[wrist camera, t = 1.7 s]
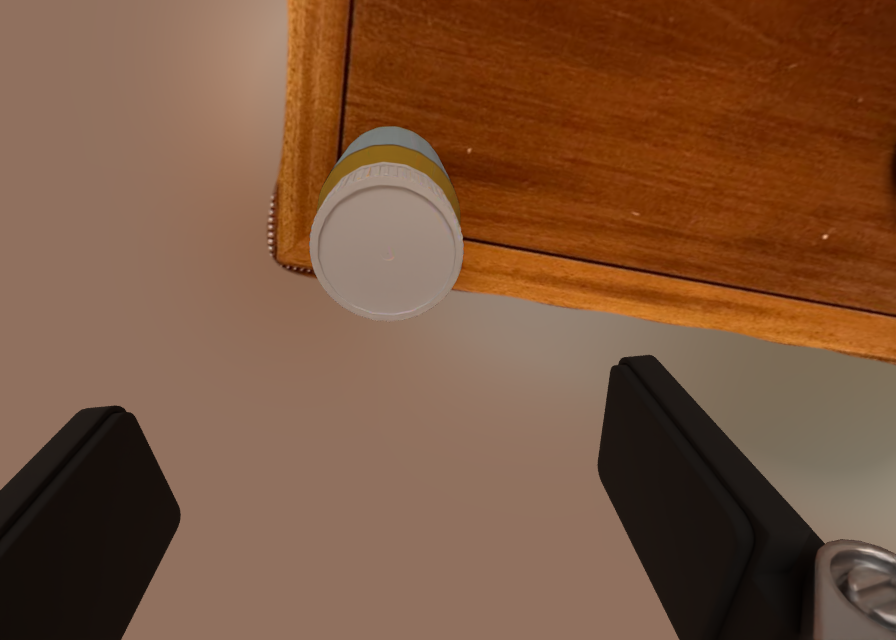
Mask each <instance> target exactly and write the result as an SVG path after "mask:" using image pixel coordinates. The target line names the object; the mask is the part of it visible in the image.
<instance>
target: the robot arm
mask: <svg viewBox="0 0 896 640" xmlns="http://www.w3.org/2000/svg"><path fill="white" fill-rule="evenodd" d="M598 472H599V476H600V479H601V482H602V484H603V486H604V488H605V490H606V492H607V494H608V496H609V498H610V500H611V502H612V504H613V506H614V508H615V510H616V512H617V514H618V516H619V518H620V520H621V522H622V524H623V526H624V528H625V530H626V532H627V534H628V536H629V539H630V541H631V543H632V545H633V547H634V549H635V551H636V553H637V555H638V557H639V559H640V561H641V563H642V565H643V567H644V569H645V571H646V573H647V575H648V577H649V579H650V581H651V583H652V585H653V587H654V589H655V591H656V593H657V595H658V597H659V599H660V601H661V603H662V605H663V607H664V609H665V611H666V613H667V615H668V618H669V620H670V621H671V624H672V625H673V628H674V629H675V632H676V634H677V636H678V638H679V639H680V640H896V554H894V553H893V552H891V551H888V550H886V549H884V548H882V547H879V546H876V545H872V544H869V543H865V542H862V541H855V540H843V539H840V540H836V541H831V542H827V543H826V544H825V543H824V542H823V541H822V540H821V539H820V538H819V537H818V536H817V534H816V533H815V532H814V531H813V530H812V529H811V528H810V527H809V525H808V524H807V523H806V522H805V521H804V520H803V519H802V518H801V517H800V515H799V514H798V513H797V512H796V511H795V510H794V509H793V508H792V507H791V506H790V504H789V503H788V502H787V501H786V500H785V499H784V498H783V497H782V496H781V495H780V494H779V492H778V491H777V490H776V489H775V488H774V487H773V486H772V485H771V484H770V483H769V482H768V480H767V479H766V478H765V477H764V476H763V475H762V474H761V473H760V472H759V471H758V469H756V467H755V466H754V465H753V464H752V463H751V462H750V461H749V460H748V458H747V457H746V456H745V455H744V454H743V453H742V452H741V451H740V450H739V449H738V447H736V445H735V444H734V443H733V442H732V441H731V440H730V439H729V438H728V437H727V435H726V434H725V433H724V432H723V431H722V430H721V429H720V428H719V427H718V426H717V425H716V423H715V422H714V421H713V420H712V419H711V418H710V417H709V416H708V415H707V414H706V412H705V411H704V410H703V409H702V408H701V407H700V406H699V405H698V404H697V403H696V401H694V399H693V398H692V397H691V396H690V395H689V394H688V393H687V392H686V391H685V389H684V388H683V387H682V386H681V385H680V384H679V383H678V382H677V381H676V380H675V378H674V377H673V376H672V375H671V374H670V373H669V372H668V371H667V370H666V369H665V368H664V366H663V365H662V364H661V363H660V362H659V361H658V360H657V359H656V358H655V357H654V356H652V355H645V356H644V355H643V356H634V357H624V358H622V359H621V360H620V361H619V364H618V365H615V366H613V367H612V368H611V371H610V378H609V385H608V392H607V399H606V407H605V414H604V422H603V428H602V435H601V442H600V450H599V457H598ZM180 515H181V514H180V508H179V505H178V504H177V501H176V499H175V497H174V495H173V493H172V491H171V489H170V487H169V485H168V483H167V481H166V479H165V477H164V475H163V473H162V471H161V469H160V466H159V465H158V462H157V460H156V458H155V456H154V454H153V452H152V450H151V448H150V446H149V444H148V442H147V440H146V438H145V436H144V434H143V432H142V430H141V428H140V426H139V423H138V422H137V419H136V418H135V416H134V415H133V414H132V413H129V412H126V410H125V409H124V408H122V407H120V406H106V407H95V408H86V409H83V410H81V411H79V412H78V413H76V414H75V416H73V418H72V419H71V420H70V421H69V422H68V423H67V424H66V425H65V426H64V427H63V428H62V429H61V430H60V431H59V432H58V433H57V434H56V435H55V436H54V437H53V438H52V439H51V440H50V441H49V442H48V443H47V444H46V445H45V446H44V447H43V448H42V449H41V450H40V451H39V452H38V453H37V454H36V455H35V456H34V457H33V458H32V459H31V460H30V461H29V462H28V463H27V464H26V465H25V466H24V467H23V468H22V469H21V470H20V471H19V472H18V473H17V474H16V475H15V476H14V477H13V478H12V479H11V480H10V481H9V482H8V483H7V484H6V485H5V486H4V487H3V488H2V489H1V490H0V640H121V639H122V636H123V635H124V633H125V631H126V629H127V627H128V625H129V623H130V621H131V619H132V617H133V615H134V613H135V611H136V609H137V607H138V605H139V603H140V601H141V599H142V597H143V595H144V593H145V591H146V589H147V587H148V585H149V583H150V581H151V579H152V578H153V576H154V574H155V571H156V570H157V568H158V566H159V564H160V562H161V560H162V558H163V556H164V554H165V552H166V550H167V548H168V546H169V544H170V542H171V540H172V538H173V536H174V534H175V532H176V530H177V528H178V525H179V523H180Z"/></svg>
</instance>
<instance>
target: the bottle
mask: <svg viewBox="0 0 896 640" xmlns="http://www.w3.org/2000/svg"><path fill="white" fill-rule="evenodd" d="M311 229H312V232H311V233H310V238H311V239H310V242H309V246H310V255H311V262H312V265H313V269H314V271H315V274H316V276H317V278H318V280H319V282H320V283H321V285H322V287H323V288H324V289H325V291H326V292H327V293H328V294H329V295H330V296H331V298H333V299H334V300H335V301H336V302H337V303H338V304H339V305H341V306H342V307H344V308H345V309H347V310H349V311H350V312H352V313H354V314H356V315H359V316H362V317H365V318H368V319H373V320H379V321H399V320H405V319H409V318H412V317H415V316H418V315H420V314H423V313H425V312H426V311H428V310H430V309H431V308H433V307H434V306H436V305H437V304H438V303H439V302H440V301H441V300H443V298H444V297H445V296H446V295H447V294H448V293H449V291H450V290H451V289H452V287H453V285H454V284H455V282H456V280H457V277H458V275H459V272H460V270H461V265H462V262H463V254H464V251H463V247H464V243H463V241H462V239H463V236H462V233H461V228H460V207H459V202H458V199H457V196H456V193H455V190H454V187H453V185H452V183H451V181H450V179H449V177H448V175H447V173H446V171H445V169H444V167H443V165H442V163H441V161H440V159H439V157H438V155H437V154H436V152H435V151H434V150H433V148H432V147H431V145H430V144H429V143H428V142H427V141H426V140H425V139H423V138H422V137H420V136H419V135H418V134H416V133H415V132H413V131H411V130H407V129H404V128H401V127H397V126H385V127H377V128H375V129H372V130H370V131H367V132H365V133H363V134H362V135H360V136H359V137H358V138H357V139H356V140H355V141H354V142H352V143H351V145H350V146H349V147H348V148H347V150H346V151H345V153H344V154H343V155H342V157H341V158H340V159H339V161H338V162H337V164H336V165H335V166H334V168H333V169H332V170H331V172H330V174H329V176H328V177H327V179H326V181H325V183H324V185H323V186H322V189H321V192H320V195H319V200H318V206H317V215H316V216H315V218H314V223H313V225H312V227H311Z"/></svg>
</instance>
